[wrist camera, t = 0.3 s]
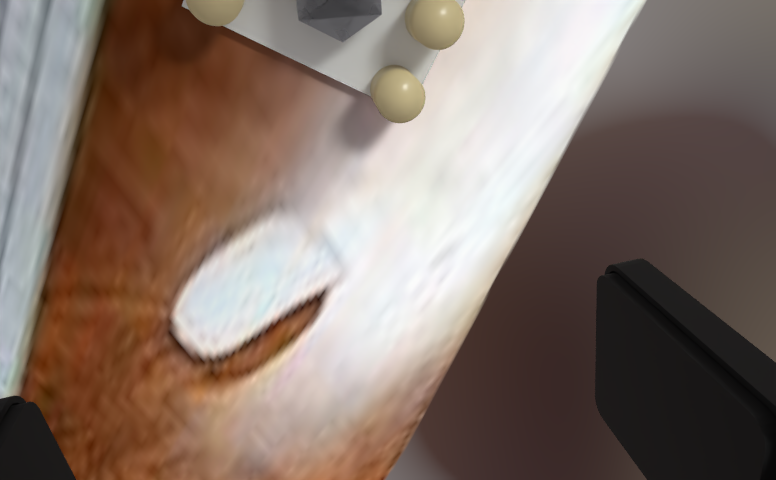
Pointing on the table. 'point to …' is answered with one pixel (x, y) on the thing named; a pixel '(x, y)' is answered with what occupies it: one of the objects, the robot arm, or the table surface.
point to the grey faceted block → (338, 15)
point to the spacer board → (353, 44)
